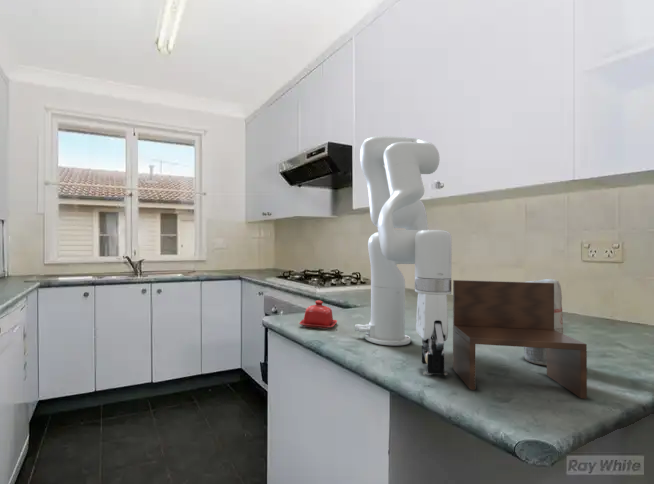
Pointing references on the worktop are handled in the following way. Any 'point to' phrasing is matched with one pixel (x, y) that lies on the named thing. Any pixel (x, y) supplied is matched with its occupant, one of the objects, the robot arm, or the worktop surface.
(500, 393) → the worktop surface
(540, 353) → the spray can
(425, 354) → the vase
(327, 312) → the butter dish
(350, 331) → the worktop surface
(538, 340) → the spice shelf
